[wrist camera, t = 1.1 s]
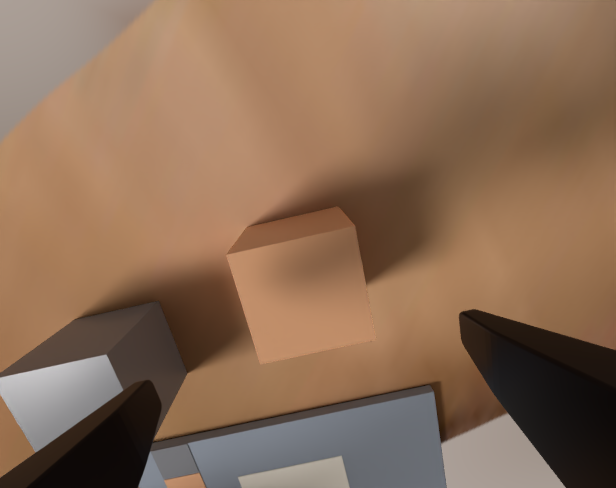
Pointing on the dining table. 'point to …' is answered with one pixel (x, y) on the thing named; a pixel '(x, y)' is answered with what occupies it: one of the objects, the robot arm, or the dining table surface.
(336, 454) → the board
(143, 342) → the charcoal cube
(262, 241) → the terracotta cube
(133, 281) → the dining table surface
